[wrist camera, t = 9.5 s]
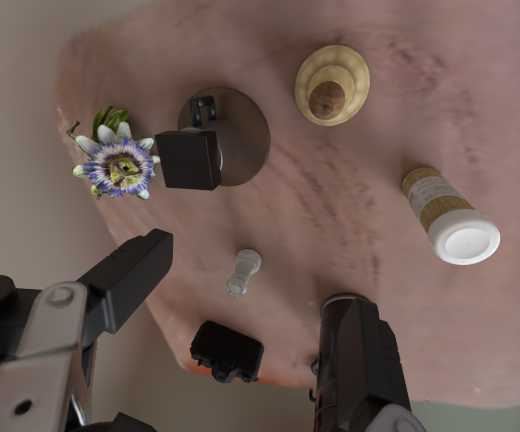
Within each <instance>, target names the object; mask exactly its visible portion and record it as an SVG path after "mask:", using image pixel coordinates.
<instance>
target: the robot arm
mask: <svg viewBox="0 0 520 432" xmlns="http://www.w3.org/2000/svg"><path fill="white" fill-rule="evenodd" d="M172 260H173V234H171V233H168V232H166V231H163V230H160V229H157V228H155V229H153V230H152V231H150V232H149V233H148V234H147V235H146V236H144V237H143V236H137V237H135V238H132V239H130V240H127V241H126V242H125V243H124V244H122V245H121V246H120V247H118V249H117V250H115V251H113V252H112V253H111V254H110V256H107V257H106V258H104V259H103V260H102V261H101V262H99V263H98V264H97V265H96V266H94V267H93V268H92V269H90V270H89V271H88V272H87V273H85V274H84V275H83V276H82V277H80V278H79V279H78V280H76V281H65V282H60V283H56V284H54V285H51V286H49V287H47V288H46V289H44V290H35V289H20V288H16V287H15V285H14V283H13V280H12V279H11V278H9V277H7V276H4V275H0V432H157V431H156V430H155V429H154V428H153V427H152V426H150V425H148V424H146V423H144V422H141V421H139V420H137V419H134V418H132V417H130V416H128V415H125V414H123V413H121V412H119V413H118V414H117V416H116V418H115V419H114V421H113V422H98V423H93V424H92V384H93V375H94V366H95V357H96V347H97V338H98V337H99V335H100V334H101V333H102V332H103V331H106V332H108V333H111V334H113V335H114V334H115V333H116V332H117V331H118V330H119V329H120V328H121V326H122V325H123V324H124V323H125V322H126V321H127V319H128V318H129V317H130V316H131V315H132V314H133V312H134V311H135V310H136V309H137V308H138V307H139V305H140V304H141V303H142V302H143V301H144V300H145V298H146V297H147V296H148V295H149V294H150V293H151V292H152V290H153V289H154V288H155V287H156V286H157V285H158V283H159V282H160V281H161V280H162V279H163V278H164V276H165V275H166V274H167V273H168V271H169V269H170V267H171V265H172ZM397 350H398V347H397V343H396V338H395V335H394V333H393V331H392V330H391V328H390V326H389V325H388V323H387V322H386V321H383V320H380V319H379V313H378V307H377V305H376V304H375V303H372V302H370V301H369V300H367V299H366V298H364V297H361V296H358V295H355V294H338V295H334V296H332V297H330V298H328V299H327V300H326V301H325V302H324V303H323V305H322V307H321V327H320V341H319V356H318V359H317V360H315V361H314V362H313V363H312V365H311V370H312V372H313V373H314V374H315V375H316V376H317V387H316V398H313V389H309V398H310V400H311V401H312V402H314V403H316V405H315V420H314V432H427V431H426V430H425V428H424V426H423V425H422V423H421V422H420V421H419V420H418V419H417V417H416V416H415V415H414V414H413V413H412V410H411V407H410V402H409V397H408V393H407V388H406V384H405V379H404V375H403V370H402V365H401V363H400V356H399V352H398V351H397ZM316 365H318V372H317V371H316V369H315V367H316Z"/></svg>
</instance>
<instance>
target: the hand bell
mask: <svg viewBox="0 0 520 432" xmlns="http://www.w3.org/2000/svg"><path fill="white" fill-rule="evenodd" d="M369 87H370V74H369V69H368V66H367V64H366V62H365V60H364V59H363V57H362V56H361V55H360V54H359V53H358V52H357V51H355V50H354V49H352V48H350V47H348V46H344V45H330V46H326V47H323V48H320V49H318V50H317V51H315V52H314V53H312V54H311V55H310V56H309V57H308V58H307V59H306V60H305V61H304V63H303V64H302V66H301V68H300V69H299V71H298V74H297V77H296V81H295V88H294V91H295V99H296V103H297V105H298V108H299V109H300V111H301V113H302V114H303V115H304V116H305V117H306V118H307V119H308V120H310V121H311V122H313V123H316V124H318V125H323V126H332V125H337V124H340V123H343V122H345V121H347V120H348V119H350V118H351V117H353V116H354V115H355V114H356V113H357V112H358V111H359V110H360V108H361V107H362V106H363V104H364V102H365V100H366V98H367V95H368V92H369Z"/></svg>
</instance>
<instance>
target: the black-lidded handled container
mask: <svg viewBox="0 0 520 432" xmlns="http://www.w3.org/2000/svg"><path fill="white" fill-rule="evenodd" d="M189 103H190V110H191V117H192V123H193V126H190V127H187V128H185V129H182V130H180V131H165V132H163V133H160V134H157V135H155V140H156V144H157V149H158V153H159V158H160V162H161V167H162V171H163V175H164V180H165V184H166V187H168V188H183V189H197V190H211V191H213V190H214V189H215V188H216V187H217V186H218V185H219V184H220V183H221V182H222V180H221V173H222V172H223V171H224V170H225V169H226V168H227V167H228V166H230V165H231V164H232V163H233V162H234V161H235V160H236V159H237V158H238V157H239V156H240V154H241V152H242V149H243V138H242V135H241V132H240V130H239V129H238V127H237V126H236V125H235V124H234V123H233V122H232V121H230V120H228V119H226V118H222V117H216V110H215V101H214V97H213V96H211V95H207V96H202V97H197V98H192V99H191V100H190V102H189ZM203 106H207V114H208V120H206V121H203V122H202V120H201V113H200V107H203Z"/></svg>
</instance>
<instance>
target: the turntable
mask: <svg viewBox="0 0 520 432" xmlns="http://www.w3.org/2000/svg"><path fill="white" fill-rule="evenodd" d="M207 95H211V96H213V97H214V101H215V110H216V117H222V118H226V119H228V120H230V121H232V122H233V123H234V124H235V125H236V126H237V127H238V129H239V130H240V132H241V135H242V138H243V149H242V152H241V154H240V156H239V157H238V158H237V159H236V160H235V161H234V162H233V163H232V164H231V165H230V166H228V167H227V168H226V169H225V170H224V171H223V172H222V173H221V180H222V182H221V183H220V184H219V185H221V186H237V185H241V184H244V183H246V182H248V181H249V180H251V179H252V178H254V177H255V176H256V175H257V174H258V173H259V171H260V170H261V169H262V167H263V166H264V164H265V162H266V160H267V158H268V154H269V150H270V133H269V128H268V125H267V122H266V119H265V117H264V115H263V113H262V112H261V110H260V109H259V107H258V106H257V105H256V104H255V103H254V102H253V101H252V100H251V99H250V98H249V97H247V96H246V95H244V94H243V93H241V92H239V91H237V90H234V89H231V88H225V87H215V88H209V89H205V90H202V91H200V92H198V93H196V94H195V95H194V96H192V97H191V98H190V99H189V100H188V101H187V103H186V104H185V106H184V107H183V109H182V111H181V114H180V117H179V121H178V129H177V130H178V131H180V130H182V129H185V128H187V127H190V126H193V123H192V117H191V110H190V103H189V102H190V100H191V99H192V98H197V97H202V96H207ZM200 113H201V120H202V122H203V121H206V120H208V114H207V106H203V107H200Z"/></svg>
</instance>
